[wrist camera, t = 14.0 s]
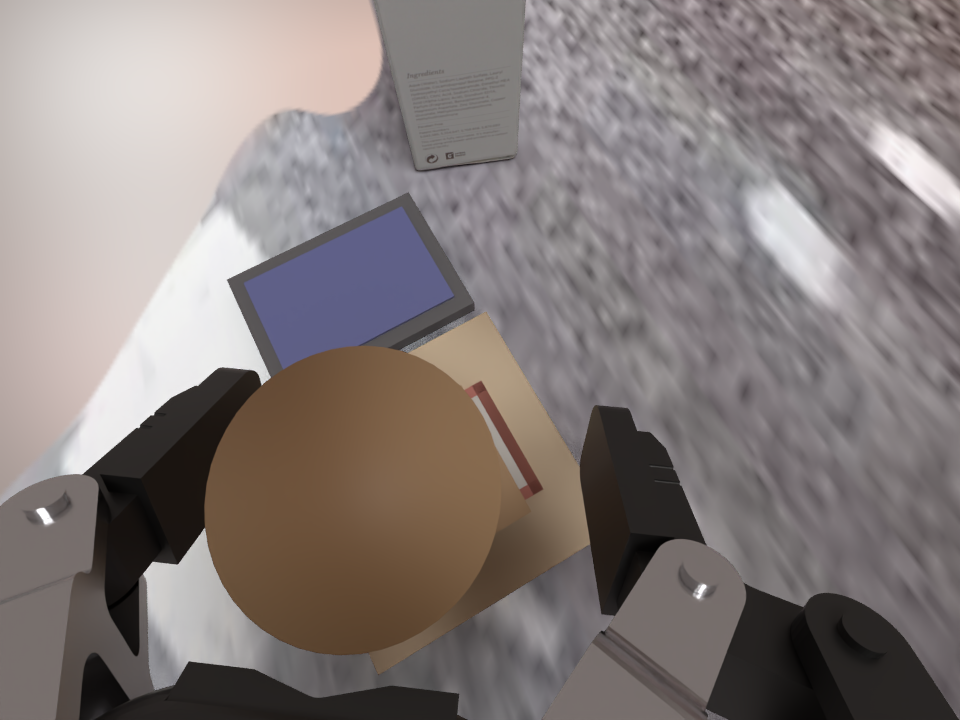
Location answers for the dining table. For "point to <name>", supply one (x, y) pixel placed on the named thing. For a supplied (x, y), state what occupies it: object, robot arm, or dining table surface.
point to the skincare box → (456, 76)
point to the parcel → (530, 460)
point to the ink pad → (352, 288)
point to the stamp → (355, 500)
